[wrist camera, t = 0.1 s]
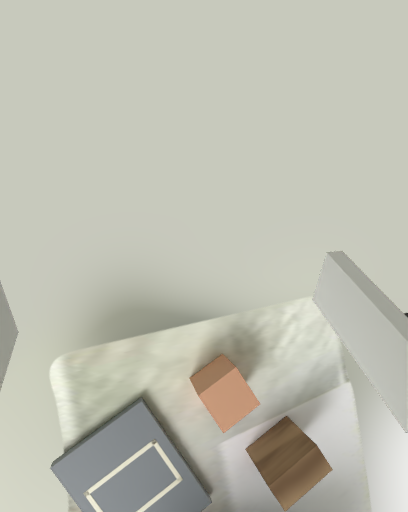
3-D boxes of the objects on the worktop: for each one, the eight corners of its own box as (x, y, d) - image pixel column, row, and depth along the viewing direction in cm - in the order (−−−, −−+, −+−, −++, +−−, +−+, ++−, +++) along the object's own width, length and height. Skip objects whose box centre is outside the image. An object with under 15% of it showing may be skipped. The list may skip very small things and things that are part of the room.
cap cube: (243, 385, 52) (260, 404, 45) (211, 410, 51) (223, 433, 44) (222, 353, 51) (236, 367, 44) (189, 378, 50) (198, 395, 43)
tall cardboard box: (299, 436, 53) (332, 469, 44) (259, 470, 52) (285, 511, 43) (286, 415, 53) (316, 445, 44) (245, 449, 51) (268, 486, 43)
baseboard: (209, 495, 50) (211, 502, 49) (127, 563, 47) (127, 573, 46) (141, 397, 49) (141, 401, 47) (52, 461, 46) (50, 468, 44)
